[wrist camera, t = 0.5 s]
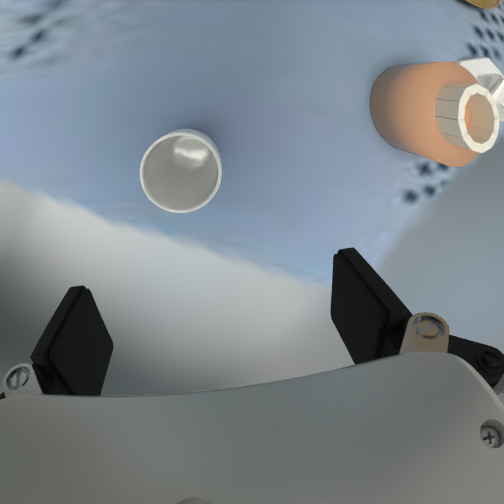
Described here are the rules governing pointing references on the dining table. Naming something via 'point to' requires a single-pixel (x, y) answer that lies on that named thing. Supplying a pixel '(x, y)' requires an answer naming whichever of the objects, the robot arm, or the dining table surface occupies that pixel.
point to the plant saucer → (484, 3)
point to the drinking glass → (181, 171)
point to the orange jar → (434, 112)
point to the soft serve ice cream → (487, 79)
